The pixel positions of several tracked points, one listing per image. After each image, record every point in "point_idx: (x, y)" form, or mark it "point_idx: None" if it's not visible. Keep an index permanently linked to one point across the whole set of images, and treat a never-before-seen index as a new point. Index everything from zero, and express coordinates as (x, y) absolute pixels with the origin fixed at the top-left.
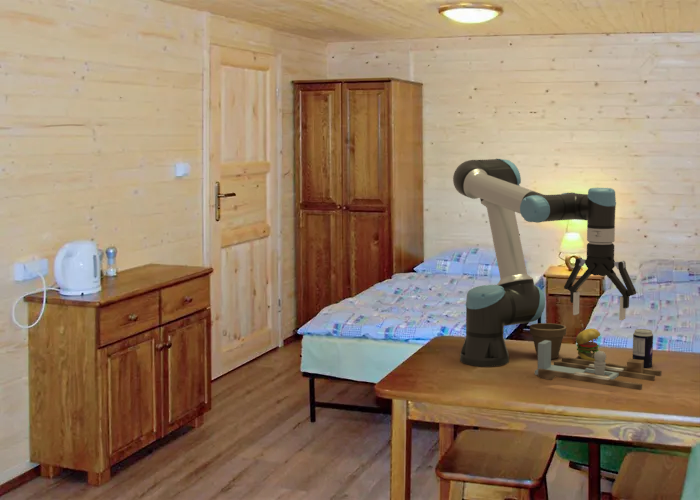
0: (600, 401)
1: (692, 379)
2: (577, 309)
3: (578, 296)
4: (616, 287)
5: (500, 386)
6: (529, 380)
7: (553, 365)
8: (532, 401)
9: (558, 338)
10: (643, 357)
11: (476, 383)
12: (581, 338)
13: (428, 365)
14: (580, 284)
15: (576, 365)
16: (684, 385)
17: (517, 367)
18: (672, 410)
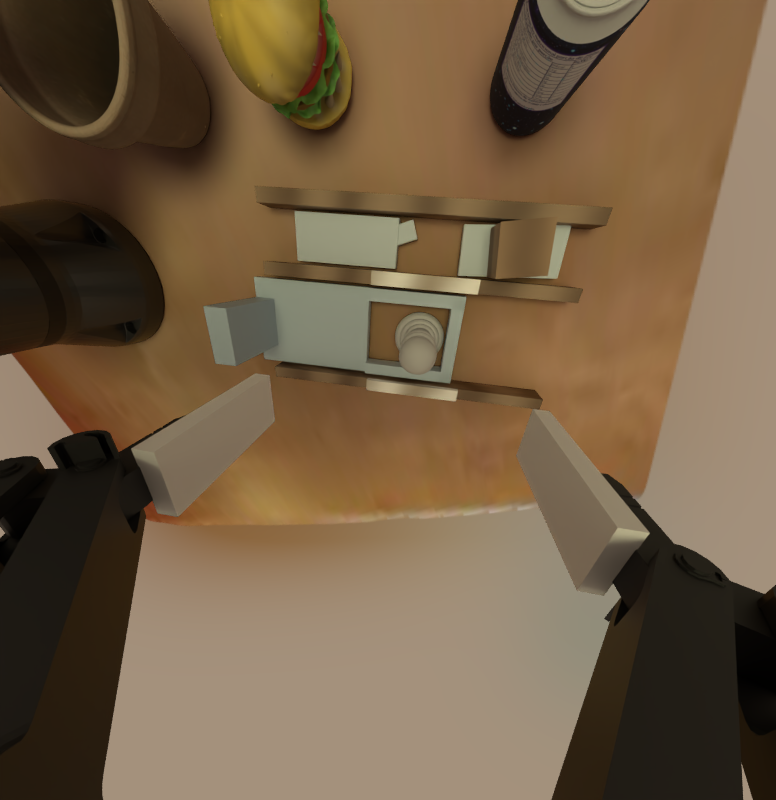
0: (455, 474)
1: (723, 144)
2: (256, 409)
3: (195, 446)
4: (583, 705)
5: (263, 455)
6: (283, 397)
7: (274, 283)
8: (350, 509)
9: (160, 85)
10: (552, 110)
11: None
12: (259, 91)
13: (70, 378)
14: (122, 575)
15: (334, 280)
16: (669, 256)
17: (199, 299)
18: None
